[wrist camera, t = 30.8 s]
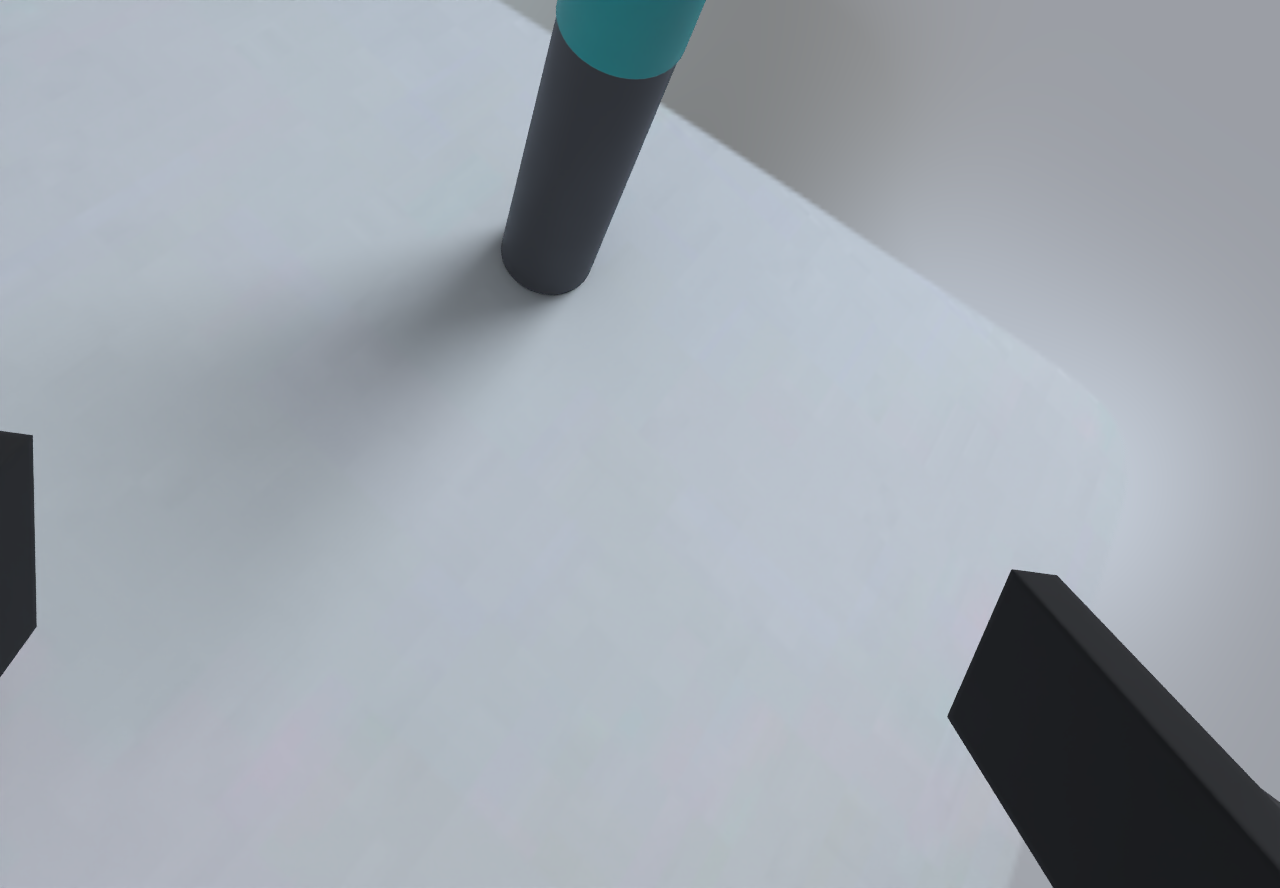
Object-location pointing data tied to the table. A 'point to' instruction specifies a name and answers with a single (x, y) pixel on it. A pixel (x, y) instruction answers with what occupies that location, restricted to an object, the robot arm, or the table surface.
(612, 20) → the marker
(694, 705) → the table surface
